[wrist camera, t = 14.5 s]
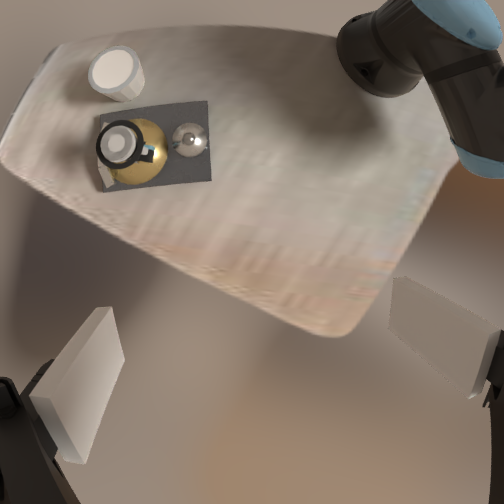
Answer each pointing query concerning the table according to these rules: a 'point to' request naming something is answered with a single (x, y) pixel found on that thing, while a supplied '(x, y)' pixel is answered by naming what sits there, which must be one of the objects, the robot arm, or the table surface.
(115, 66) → the white tapered cup
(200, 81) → the table surface
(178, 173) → the carrier plate
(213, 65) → the table surface
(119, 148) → the push button
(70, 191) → the table surface
